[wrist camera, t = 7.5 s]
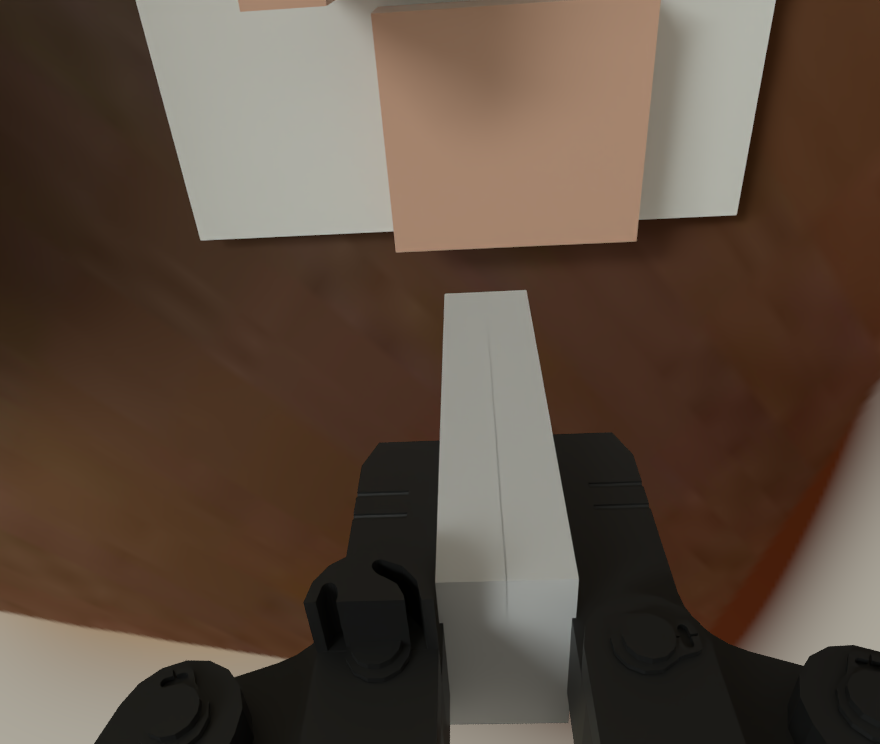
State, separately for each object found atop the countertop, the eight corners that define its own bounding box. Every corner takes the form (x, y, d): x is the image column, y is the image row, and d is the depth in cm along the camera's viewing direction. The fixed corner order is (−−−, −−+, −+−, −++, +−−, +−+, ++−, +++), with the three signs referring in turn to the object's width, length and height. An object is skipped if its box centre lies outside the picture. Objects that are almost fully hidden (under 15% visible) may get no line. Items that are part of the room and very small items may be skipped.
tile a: (395, 252, 29) (636, 241, 28) (370, 13, 24) (661, -6, 24) (400, 231, 31) (625, 220, 30) (377, 6, 26) (646, -12, 25)
